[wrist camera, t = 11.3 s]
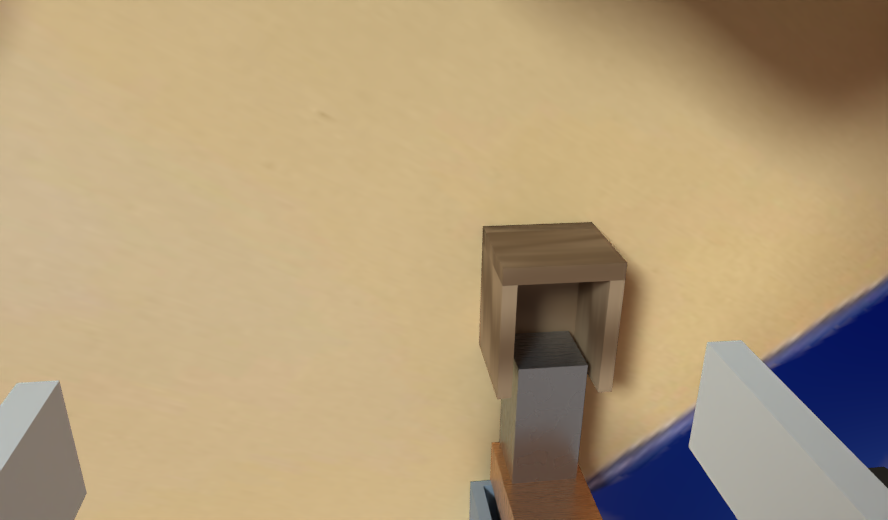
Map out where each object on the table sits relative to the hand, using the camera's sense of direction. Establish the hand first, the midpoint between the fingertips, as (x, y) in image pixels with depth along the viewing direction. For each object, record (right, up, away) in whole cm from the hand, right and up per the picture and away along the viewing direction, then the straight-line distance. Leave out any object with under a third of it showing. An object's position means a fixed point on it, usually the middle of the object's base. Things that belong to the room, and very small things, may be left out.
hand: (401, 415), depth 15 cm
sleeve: (+6, +2, +30) cm, 30 cm away
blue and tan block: (+6, -8, +32) cm, 34 cm away
